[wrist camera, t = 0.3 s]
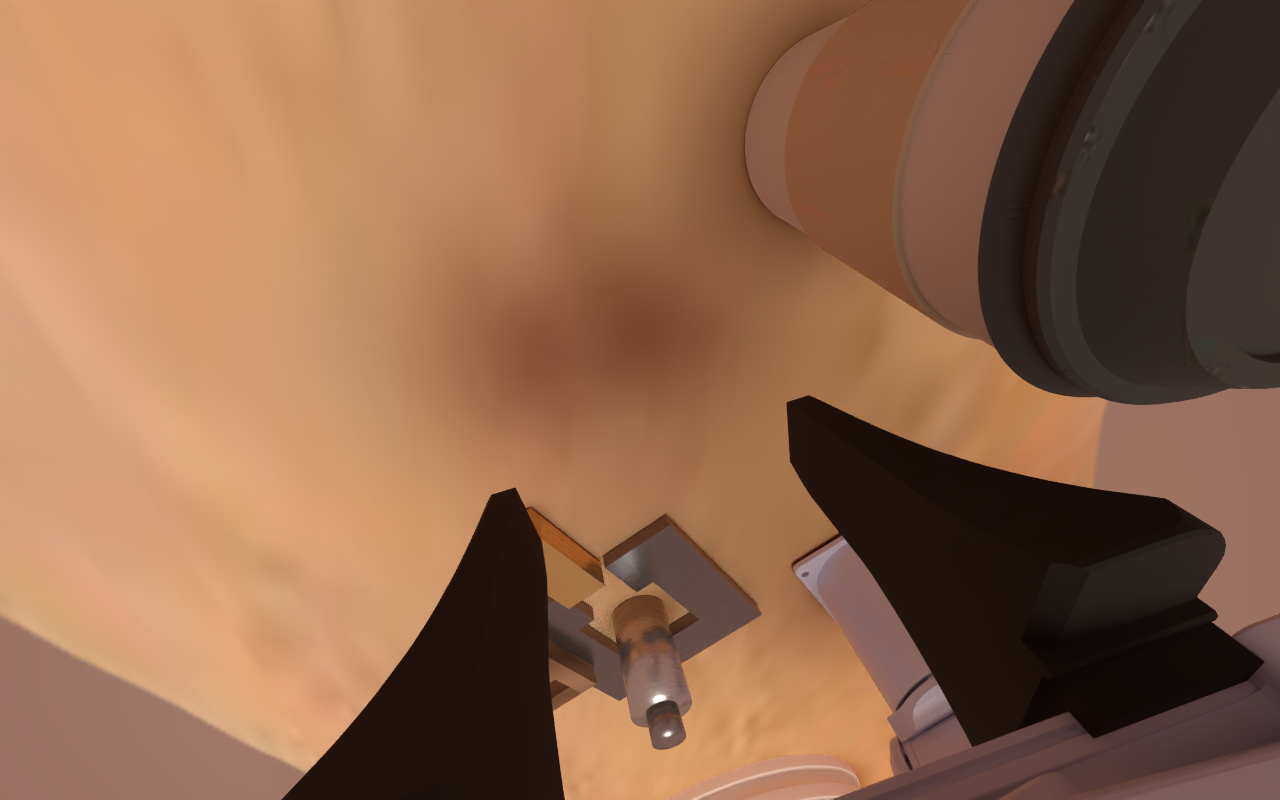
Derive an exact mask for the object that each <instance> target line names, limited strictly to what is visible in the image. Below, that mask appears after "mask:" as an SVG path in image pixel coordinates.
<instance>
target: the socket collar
mask: <svg viewBox="0 0 1280 800" xmlns="http://www.w3.org/2000/svg"><path fill="white" fill-rule="evenodd" d="M603 559H604V564H605V568H606V569H608V570H609V571H610V572H612V573H613V574H614V575H615V576H617V577H618V578H619V579H621V580H622V581H623V582H624V583H626V584H627V585H628V586H630V587H631V588H632V589H634V590H635V591H636V592H638V591H640V590H641V589H643V588H644V587H646V586H647V585H649V584H650V583H652V582H654V583H656V584H657V585H658V586H659V587H660V588H662V589H663V590H664V591H665V592H667V593H668V594H669V595H670V596H671V597H673V598H674V599H675V600H676V601H677V602H679V603H680V604H681V605H682V606H684V607H685V608H686V609H687V610H688V611H690V613H689V614H687V615H686V616H684V617H682V618H681V619H679V620H677V621H676V622H674V623H673V624H671V625H670V628H671V631H672V635H673V638H674V641H675V645H676V648H677V652H678V655H679V658H680V662H681V663H683V662H684V661H686V660H688V659H689V658H691V657H693V656H694V655H696V654H698V653H699V652H701V651H703V650H704V649H706V648H707V647H709V646H711V645H712V644H714V643H716V642H717V641H719V640H721V639H722V638H724V637H726V636H727V635H729V634H731V633H732V632H734V631H735V630H737V629H739V628H740V627H742V626H744V625H745V624H747V623H749V622H750V621H752V620H754V619H755V618H757V617H759V616H760V615H762V614H761V612H760V610H759V608H758V606H757V604H756V603H755V602H754V601H753V600H752V599H751V598H750V597H749V596H748V595H747V594H746V593H745V592H744V591H743V590H742V589H741V588H740V587H739V586H738V585H737V584H736V583H734V582H733V581H732V580H731V579H730V578H729V577H728V576H727V575H726V574H725V573H724V572H723V571H722V570H721V569H720V568H719V567H718V566H717V565H716V564H715V563H714V562H713V561H712V560H711V559H710V558H709V557H708V556H707V555H706V554H705V553H704V552H703V551H702V550H701V549H700V548H699V547H698V546H697V545H696V544H695V543H694V542H693V541H692V540H691V539H690V538H689V537H688V536H687V535H686V534H685V533H684V532H683V531H682V530H681V529H680V528H679V527H678V526H677V525H676V524H675V523H674V522H673V521H672V520H671V519H670V518H668V517H667V516H666V515H664V516H663V517H661V518H660V519H658V520H657V521H655V522H654V523H652V524H651V525H649V526H648V527H646V528H645V529H643V530H642V531H640V532H639V533H637V534H636V535H634V536H633V537H631V538H630V539H628V540H627V541H625V542H624V543H622V544H621V545H619V546H618V547H616V548H615V549H613V550H612V551H610V552H609V553H607V554H606V555H604V556H603ZM593 620H594V616H593V609H592V608H591V607H590V606H588V605H587V604H585V603H584V602H583V601H580V602H579V603H577V604H576V605H574V606H573V607H571V608H570V609H568V608H566V607H565V606H563V605H562V604H560V603H559V602H557V601H556V600H554V599H553V598H551V597H550V596H548V639H549V640H551V641H552V642H554V643H556V644H557V645H559V646H561V647H563V648H564V649H566V650H568V651H569V652H571V653H573V654H575V655H576V656H578V657H580V658H581V659H583V660H585V661H587V662H588V663H590V664H592V665H593V666H594V670H595V677H596V685H594V686H593V687H595V688H597V689H599V690H600V691H602V692H604V693H606V694H608V695H610V696H611V697H613V698H615V699H617V700H619V701H620V700H622V699H623V698H625V697H627V694H626V689H625V683H624V678H623V673H622V668H621V662H620V657H619V652H618V647H617V644H616V643H614V642H613V641H611V640H610V639H608V638H607V637H605V636H604V635H602V634H601V633H599V632H597V631H596V630H594V629H593V628H591V627H590V626H588V625H587V624H588V623H590V622H591V621H593Z"/></svg>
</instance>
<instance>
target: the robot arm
mask: <svg viewBox="0 0 1280 800" xmlns="http://www.w3.org/2000/svg"><path fill="white" fill-rule="evenodd" d="M787 418H788V434H789V451H790V462H791V464H792V466H793V467H794V469H795V471H796V473H797V474H798V476H799V478H800V480H801V481H802V483H803V485H804V486H805V488H806V489H807V491H808V493H809V494H810V495H811V497H812V498H813V499H814V501H815V502H816V503H817V505H818V506H819V507H820V508H821V510H822V511H823V512H824V514H825V515H826V516H827V517H828V519H829V520H830V521H831V522H832V524H833V525H834V526H835V528H836V529H837V530H838V531H839V533H840V534H841V535H842V536H840V537H838V538H837V539H835V540H833V541H832V542H830V543H829V544H827V545H825V546H824V547H822V548H821V549H819V550H817V551H816V552H814V553H812V554H811V555H809V556H808V557H806V558H804V559H803V560H801V561H799V562H798V563H796V564H795V565H794V567H793V571H794V573H795V574H796V576H797V577H798V578H799V579H800V580H801V582H802V583H803V584H804V585H805V586H806V587H807V589H808V590H809V591H810V592H811V593H812V594H813V596H814V597H815V598H816V599H817V600H818V602H819V603H820V604H821V605H822V606H823V607H824V609H825V610H826V611H827V612H828V613H829V615H830V616H831V617H832V618H833V619H834V620H835V622H836V623H837V624H838V625H839V626H840V628H841V629H842V631H843V633H844V634H845V636H846V638H847V639H848V641H849V642H850V644H851V646H852V647H853V649H854V650H855V652H856V654H857V655H858V657H859V659H860V660H861V662H862V663H863V665H864V667H865V668H866V670H867V671H868V673H869V675H870V676H871V678H872V680H873V681H874V683H875V684H876V686H877V688H878V689H879V691H880V692H881V694H882V696H883V697H884V699H885V701H886V702H887V704H888V705H889V707H890V709H891V710H892V712H893V714H892V715H890V716H889V717H888V718H887V720H888V721H889V723H890V725H891V726H892V728H893V730H894V731H895V733H896V735H897V736H896V737H894V738H892V740H891V741H890V764H891V768H892V771H893V774H894V776H893V777H891V778H888V779H885V780H883V781H880V782H877V783H875V784H872V785H869V786H867V787H864V788H861V789H859V790H856V791H853V792H850V793H848V794H845V795H842V796H840V797H837V798H834V799H832V800H1280V614H1277V615H1275V616H1272V617H1269V618H1267V619H1264V620H1261V621H1259V622H1256V623H1253V624H1251V625H1249V626H1247V627H1244V628H1243V629H1241V630H1240V631H1238V632H1237V633H1235V634H1234V635H1233V636H1232V637H1231V636H1230V635H1228V634H1227V633H1225V632H1224V631H1223V630H1222V629H1220V628H1219V627H1217V626H1216V625H1215V624H1214V623H1212V621H1215V620H1216V619H1217V617H1218V615H1217V613H1216V611H1215V610H1214V609H1212V608H1211V607H1210V606H1208V605H1207V604H1206V603H1204V602H1203V601H1201V600H1200V599H1199V598H1197V596H1198V594H1199V593H1200V591H1201V590H1202V588H1203V587H1204V585H1205V584H1206V582H1207V581H1208V580H1209V578H1210V576H1211V575H1212V574H1213V572H1214V571H1215V569H1216V568H1217V566H1218V565H1219V563H1220V561H1221V560H1222V558H1223V556H1224V553H1225V547H1226V543H1225V539H1224V537H1223V535H1222V534H1221V532H1220V531H1218V530H1216V529H1215V528H1213V527H1211V526H1210V525H1208V524H1207V523H1205V522H1203V521H1201V520H1200V519H1198V518H1196V517H1195V516H1193V515H1192V514H1190V513H1188V512H1187V511H1185V510H1184V509H1182V508H1180V507H1179V506H1177V505H1176V504H1173V503H1172V502H1171V501H1169V500H1167V499H1165V498H1158V497H1151V496H1143V495H1136V494H1128V493H1120V492H1112V491H1105V490H1098V489H1092V488H1086V487H1080V486H1075V485H1069V484H1064V483H1058V482H1053V481H1048V480H1043V479H1039V478H1034V477H1029V476H1025V475H1021V474H1016V473H1012V472H1008V471H1004V470H1000V469H996V468H992V467H988V466H985V465H981V464H978V463H974V462H971V461H968V460H964V459H961V458H958V457H955V456H952V455H948V454H945V453H942V452H939V451H936V450H934V449H931V448H928V447H925V446H923V445H920V444H917V443H915V442H912V441H910V440H907V439H904V438H902V437H899V436H897V435H895V434H892V433H890V432H887V431H885V430H883V429H880V428H878V427H876V426H874V425H871V424H869V423H867V422H865V421H863V420H860V419H858V418H856V417H854V416H852V415H850V414H848V413H846V412H843V411H841V410H839V409H837V408H835V407H833V406H831V405H829V404H827V403H825V402H822V401H820V400H818V399H816V398H814V397H811V396H809V395H808V396H805V397H802V398H799V399H796V400H792V401H789V402H787ZM282 800H565V798H564V791H563V785H562V778H561V771H560V763H559V755H558V748H557V740H556V732H555V724H554V716H553V707H552V698H551V689H550V676H549V641H548V587H547V573H546V565H545V558H544V552H543V545H542V541H541V539H540V537H539V534H538V532H537V530H536V528H535V526H534V524H533V522H532V520H531V518H530V516H529V514H528V512H527V510H526V508H525V506H524V504H523V502H522V500H521V498H520V496H519V494H518V492H517V490H516V488H512V489H509V490H505V491H502V492H499V493H496V494H493V495H491V497H490V498H489V500H488V503H487V505H486V507H485V509H484V512H483V514H482V516H481V519H480V521H479V523H478V525H477V528H476V530H475V532H474V534H473V536H472V539H471V541H470V543H469V545H468V547H467V549H466V551H465V553H464V555H463V557H462V559H461V562H460V564H459V566H458V568H457V570H456V572H455V574H454V575H453V577H452V579H451V581H450V583H449V585H448V586H447V588H446V590H445V592H444V594H443V596H442V597H441V599H440V601H439V603H438V605H437V606H436V608H435V610H434V611H433V613H432V615H431V616H430V618H429V620H428V621H427V623H426V624H425V626H424V628H423V629H422V631H421V632H420V634H419V635H418V637H417V638H416V640H415V641H414V643H413V644H412V646H411V647H410V649H409V650H408V652H407V653H406V654H405V656H404V657H403V658H402V660H401V661H400V662H399V664H398V665H397V667H396V668H395V669H394V671H393V672H392V673H391V675H390V676H389V677H388V679H387V680H386V681H385V683H384V684H383V685H382V687H381V688H380V689H379V691H378V692H377V693H376V694H375V696H374V697H373V698H372V699H371V701H370V702H369V703H368V704H367V706H366V707H365V708H364V709H363V710H362V712H361V713H360V714H359V715H358V717H357V718H356V719H355V720H354V721H353V722H352V723H351V725H350V726H349V727H348V728H347V729H346V730H345V732H344V733H343V734H342V735H341V736H340V737H339V739H338V740H337V741H336V742H335V743H334V744H333V745H332V746H331V748H330V749H329V750H328V751H327V752H326V753H325V754H324V755H323V756H322V757H321V758H320V760H319V761H318V762H317V763H316V764H315V765H314V766H313V767H312V768H311V769H310V770H309V771H308V772H307V773H306V774H305V775H304V776H303V778H302V779H301V780H300V781H299V782H298V783H297V784H296V785H295V786H294V787H293V788H292V789H291V790H290V791H289V792H288V794H287V795H286V796H285V797H284V798H283V799H282Z"/></svg>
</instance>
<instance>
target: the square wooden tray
mask: <svg viewBox="0 0 1280 800" xmlns="http://www.w3.org/2000/svg"><path fill="white" fill-rule="evenodd" d="M548 641H549V676H550V689H551V698H552V707H553V711H554V710H555V709H557V708H559V707H560V706H562V705H563V704H565V703H567V702H568V701H570V700H571V699H573V698H575V697H576V696H578V695H580V694H581V693H583V692H584V691H586V690H588V689H589V688H591V687H592V686H594V685H596V677H595V670H594V666H593V665H592V664H590V663H588V662H587V661H585V660H583V659H581V658H580V657H578V656H576V655H575V654H573V653H571V652H569V651H568V650H566V649H564V648H563V647H561V646H559V645H557V644H556V643H554V642H552V641H551V640H549V639H548Z"/></svg>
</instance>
